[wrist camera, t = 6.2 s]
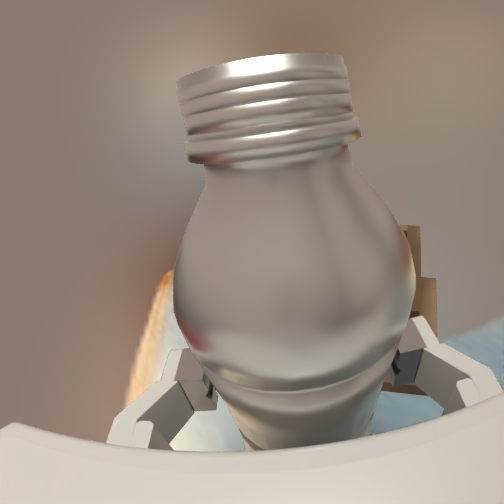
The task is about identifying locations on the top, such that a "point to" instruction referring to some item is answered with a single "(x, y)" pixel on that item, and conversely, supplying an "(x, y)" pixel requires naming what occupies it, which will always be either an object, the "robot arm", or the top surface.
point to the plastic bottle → (288, 253)
